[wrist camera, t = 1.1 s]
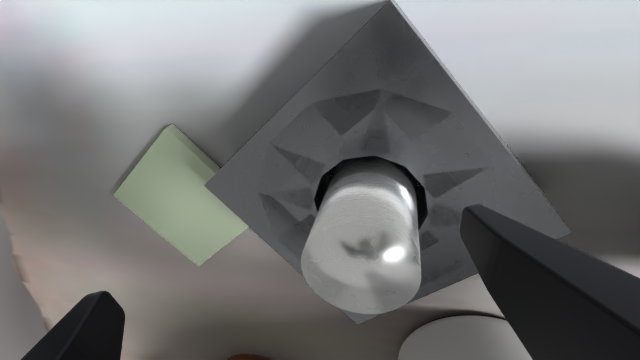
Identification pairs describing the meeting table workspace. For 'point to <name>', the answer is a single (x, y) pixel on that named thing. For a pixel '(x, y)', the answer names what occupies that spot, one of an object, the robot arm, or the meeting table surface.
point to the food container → (247, 357)
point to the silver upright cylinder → (365, 238)
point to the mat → (180, 197)
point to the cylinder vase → (464, 340)
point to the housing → (383, 152)
